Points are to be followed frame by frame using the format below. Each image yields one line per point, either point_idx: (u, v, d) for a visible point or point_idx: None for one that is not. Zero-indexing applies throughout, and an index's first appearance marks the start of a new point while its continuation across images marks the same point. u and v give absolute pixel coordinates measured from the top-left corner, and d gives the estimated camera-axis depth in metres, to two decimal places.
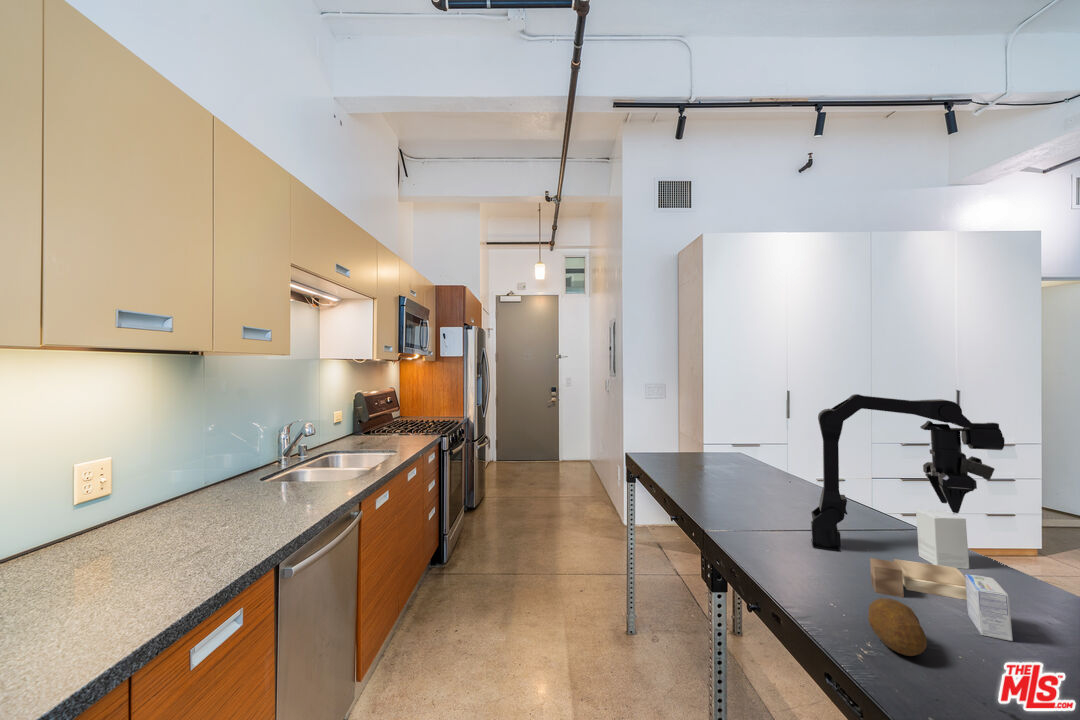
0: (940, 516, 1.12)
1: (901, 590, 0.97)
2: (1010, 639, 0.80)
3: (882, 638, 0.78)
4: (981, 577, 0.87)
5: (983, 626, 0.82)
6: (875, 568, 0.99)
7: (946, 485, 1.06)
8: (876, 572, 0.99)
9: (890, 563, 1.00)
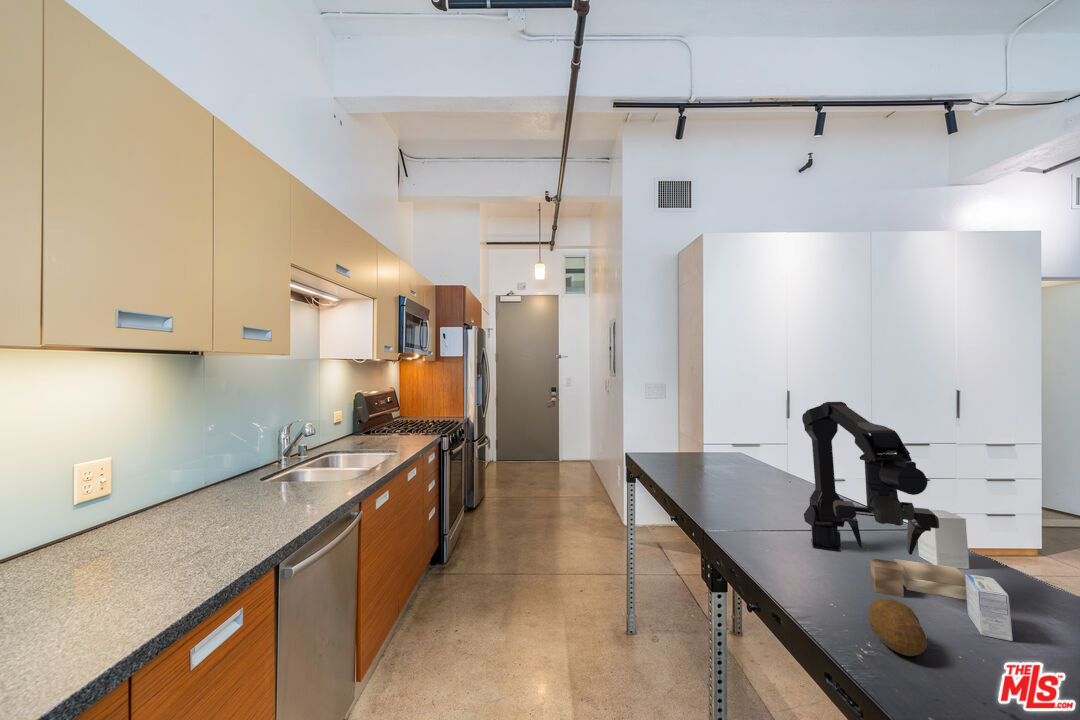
0: (940, 516, 1.12)
1: (901, 590, 0.97)
2: (1010, 639, 0.80)
3: (882, 638, 0.78)
4: (981, 577, 0.87)
5: (983, 626, 0.82)
6: (875, 568, 0.99)
7: None
8: (876, 572, 0.99)
9: (890, 563, 1.00)
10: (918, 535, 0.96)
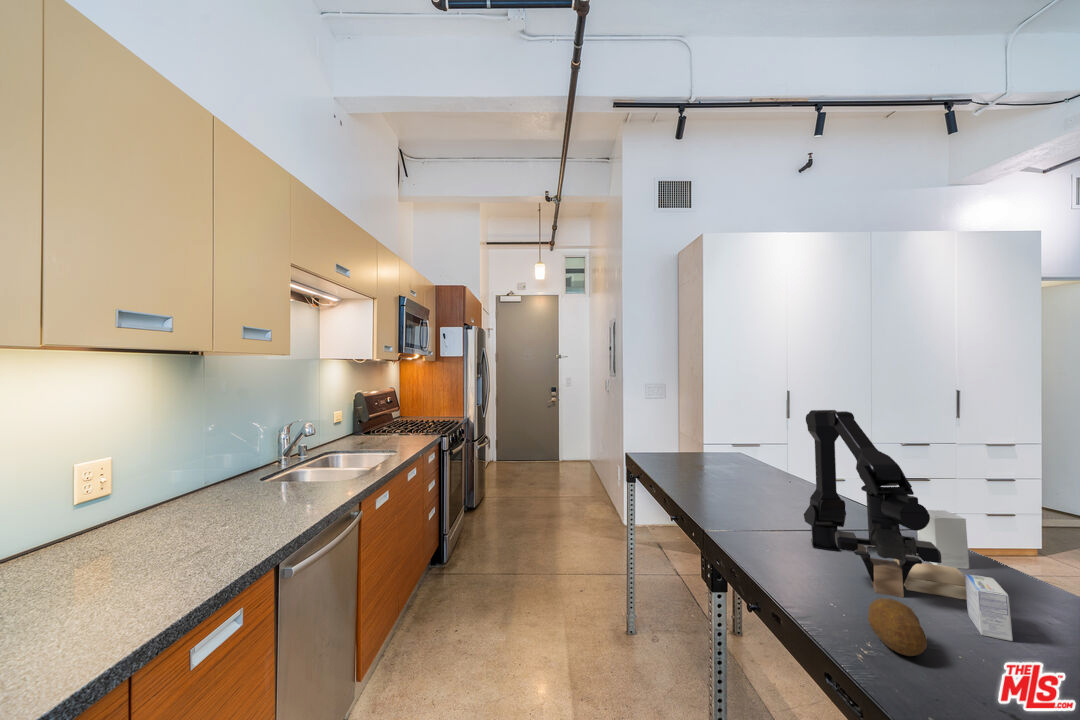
0: (940, 516, 1.12)
1: (901, 590, 0.97)
2: (1010, 639, 0.80)
3: (882, 638, 0.78)
4: (981, 577, 0.87)
5: (983, 626, 0.82)
6: (875, 568, 0.99)
7: None
8: (876, 572, 0.99)
9: (890, 563, 1.00)
10: (909, 567, 0.97)
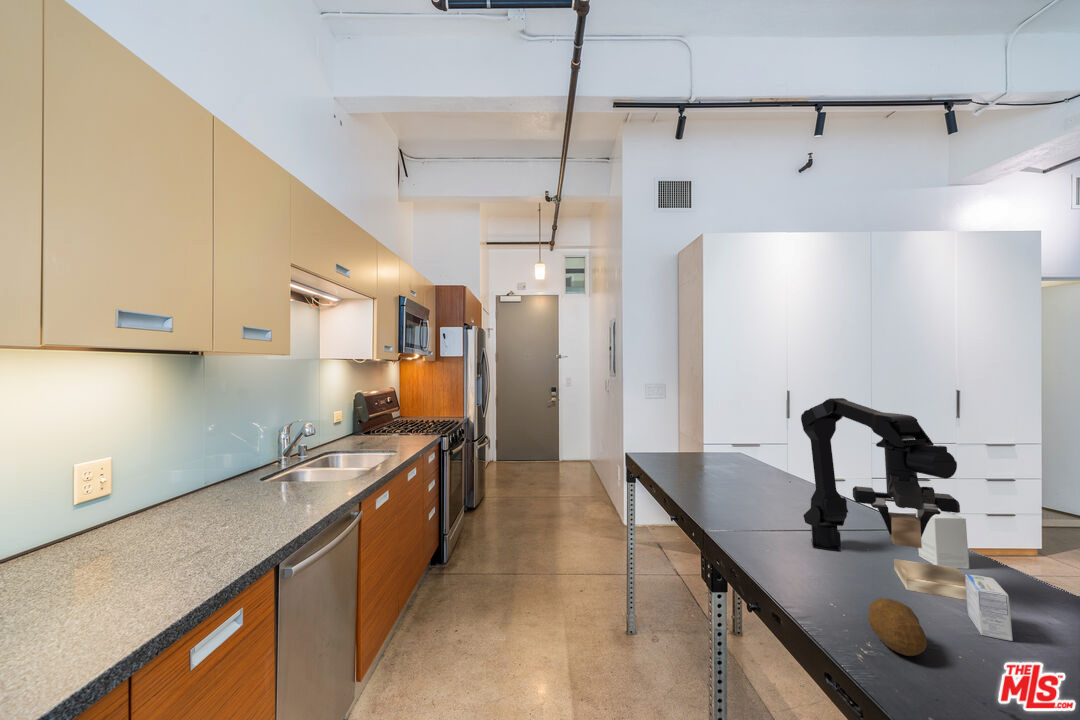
0: (940, 516, 1.12)
1: (919, 541, 0.98)
2: (1010, 639, 0.80)
3: (882, 638, 0.78)
4: (981, 577, 0.87)
5: (983, 626, 0.82)
6: (893, 520, 1.00)
7: None
8: (894, 524, 1.00)
9: (908, 516, 1.01)
10: (927, 519, 0.98)
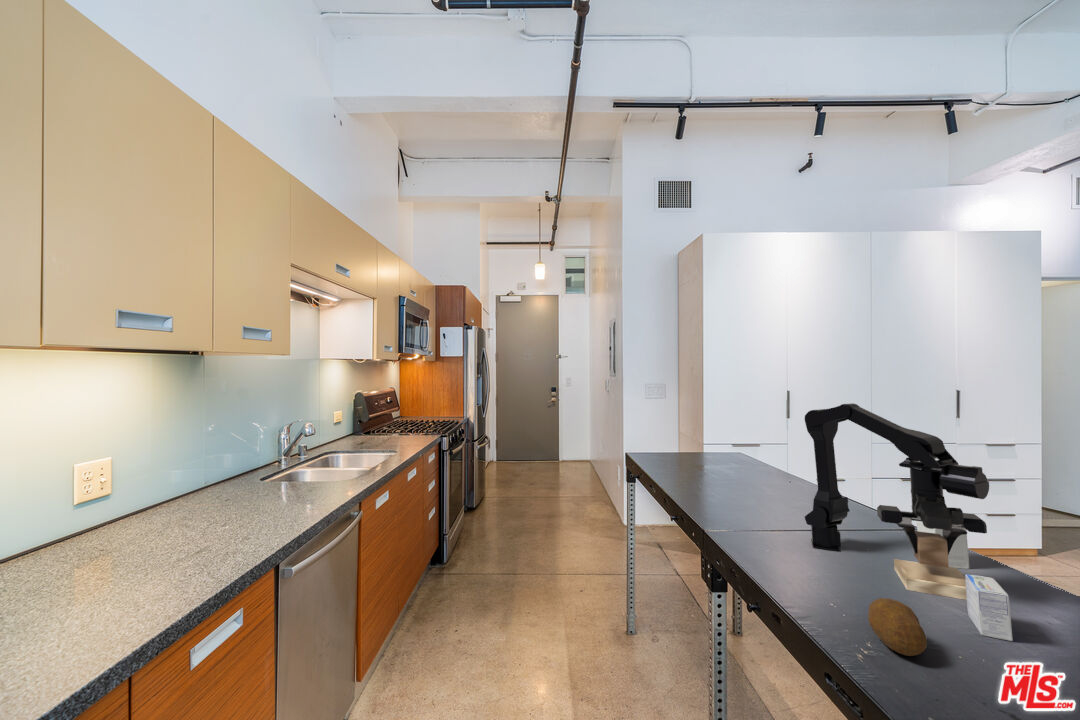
0: None
1: (946, 560, 0.99)
2: (1010, 639, 0.80)
3: (882, 638, 0.78)
4: (981, 577, 0.87)
5: (983, 626, 0.82)
6: (920, 539, 1.01)
7: None
8: (921, 543, 1.01)
9: (934, 535, 1.02)
10: (954, 538, 0.99)
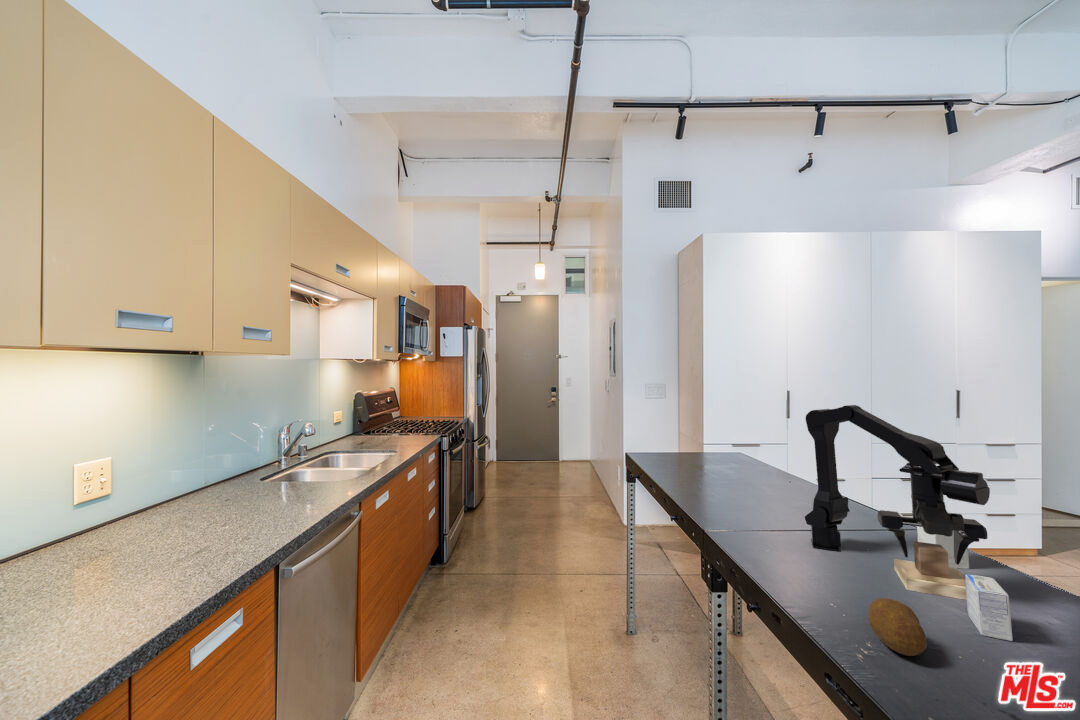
0: None
1: (947, 571, 0.99)
2: (1010, 639, 0.80)
3: (882, 638, 0.78)
4: (981, 577, 0.87)
5: (983, 626, 0.82)
6: (920, 550, 1.01)
7: None
8: (921, 554, 1.01)
9: (935, 546, 1.02)
10: (966, 545, 0.98)
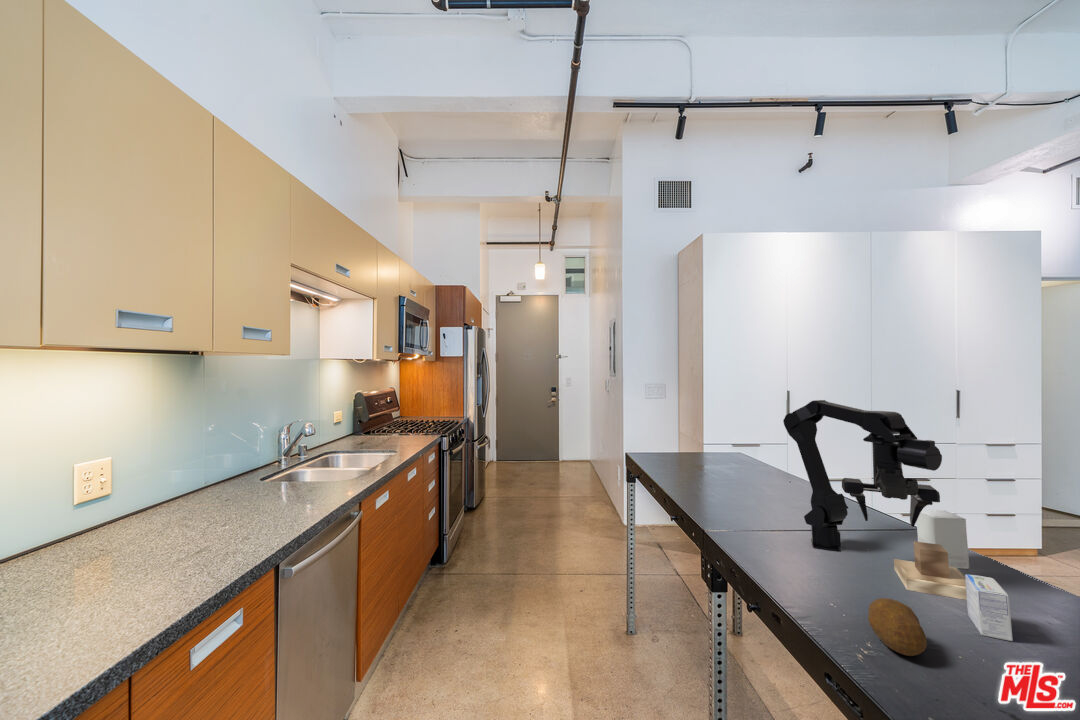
0: (940, 516, 1.12)
1: (947, 571, 0.99)
2: (1010, 639, 0.80)
3: (882, 638, 0.78)
4: (981, 577, 0.87)
5: (983, 626, 0.82)
6: (920, 550, 1.01)
7: None
8: (921, 554, 1.01)
9: (935, 546, 1.02)
10: (920, 509, 1.05)
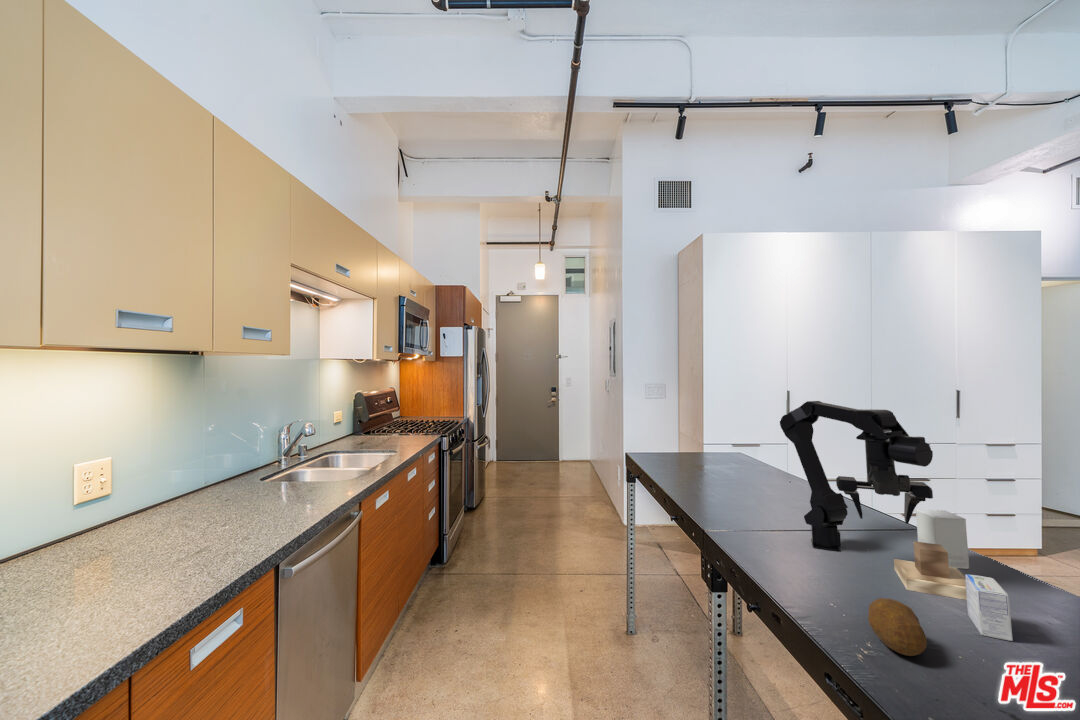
0: (940, 516, 1.12)
1: (947, 571, 0.99)
2: (1010, 639, 0.80)
3: (882, 638, 0.78)
4: (981, 577, 0.87)
5: (983, 626, 0.82)
6: (920, 550, 1.01)
7: None
8: (921, 554, 1.01)
9: (935, 546, 1.02)
10: (914, 505, 1.06)
